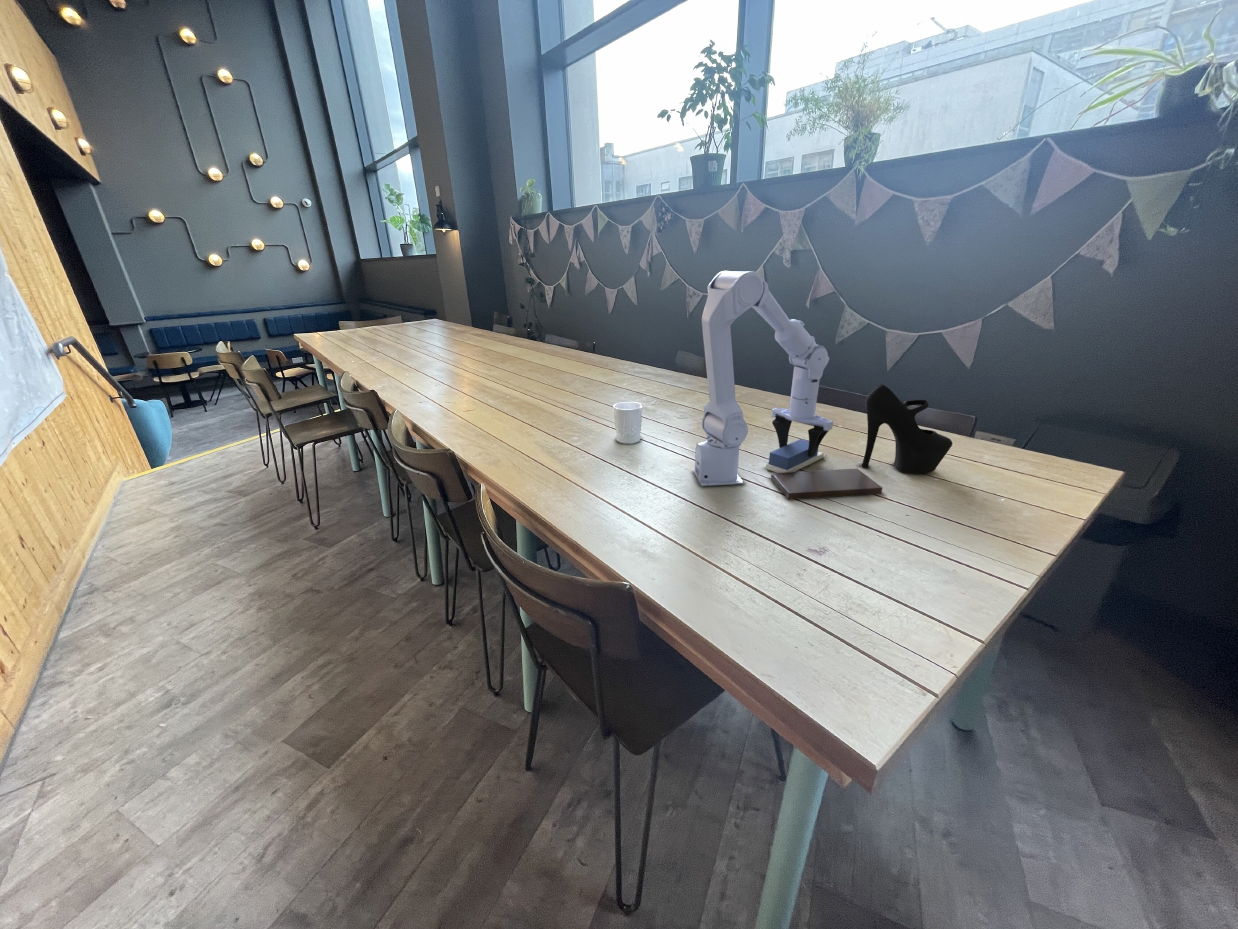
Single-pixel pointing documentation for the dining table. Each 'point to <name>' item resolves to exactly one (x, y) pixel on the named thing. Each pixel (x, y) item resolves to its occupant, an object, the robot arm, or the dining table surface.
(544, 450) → the dining table surface
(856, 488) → the shoe shelf
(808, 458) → the blue and white eraser
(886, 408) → the high-heeled shoe
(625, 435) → the white cup
